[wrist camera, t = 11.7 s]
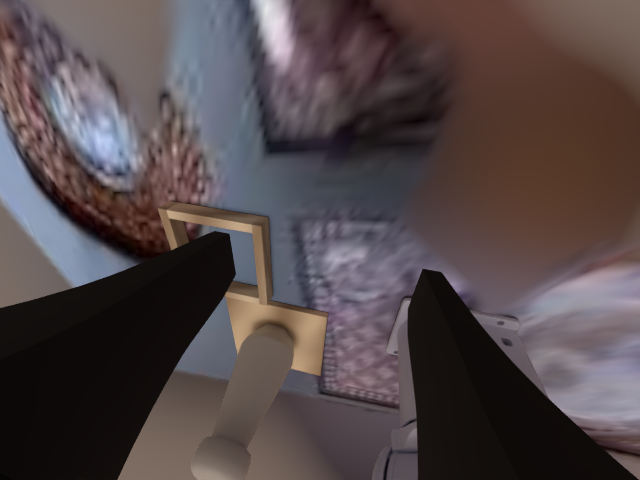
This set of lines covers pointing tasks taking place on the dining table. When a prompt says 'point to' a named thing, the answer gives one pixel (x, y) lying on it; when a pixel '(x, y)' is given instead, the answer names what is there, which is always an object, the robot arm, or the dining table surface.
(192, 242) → the robot arm
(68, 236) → the dining table surface
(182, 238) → the birch collar
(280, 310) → the cork mat
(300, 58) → the dining table surface
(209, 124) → the dining table surface
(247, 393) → the beige bowling pin
